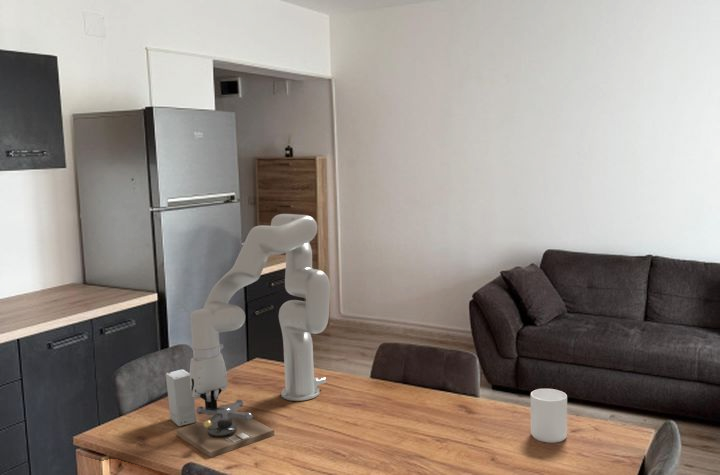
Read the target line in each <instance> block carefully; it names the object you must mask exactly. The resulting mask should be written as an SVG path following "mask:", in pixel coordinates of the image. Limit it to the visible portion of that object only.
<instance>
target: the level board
mask: <svg viewBox="0 0 720 475" xmlns="http://www.w3.org/2000/svg"><path fill="white" fill-rule="evenodd" d="M237 412H240V411H239V410H238V411H237ZM204 422H205V421H202V422H199V423H196V424H195V423H194V424H193V425H189V426H187V427H183V428H180V429H177V430H176V435H177V437H179V438H181V439H182V440H184V441H185V442H187V444H189V445H190V446H192V447H194V448H195V449H197V450H199V451H200V452H201V453H203V454H204V455H206V456H208V457H209V458H214V457H217V456H219V455H222V454H225V453H228V452H231V451H233V450H236V449H239V448H241V447H245V446H247V445H250V444H254V443H255V442H259V441H261V440H264V439H267V438H270V437H273V436H275V430H274V429H273V428H271V427H269V426H267V425H265V424H263V423H262V422H260V421H258V420H256V419H254V418H252V419H251V420H249V421H248V420H245V419H237V418H232V422H233V423H235V424H236V429H237V430H236V432H235V433H234V434H232V435H230V436H226V437H211V436H209V435H208V430H207V429H208V428H205V427H204ZM217 423H218V422H217Z"/></svg>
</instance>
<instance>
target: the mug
mask: <svg viewBox="0 0 720 475" xmlns="http://www.w3.org/2000/svg"><path fill="white" fill-rule="evenodd" d="M530 434H531V436H532V437H533V438H534V439H535V440H537V441H539V442H544V443H547V444H550V443H551V444H554V443H556V444H557V443H560V442H562V441H564V440H565V439H566V438H567V435H568V395H567V394H566V392H563V391H562V390H558V389H553V388H537V389H535V390H533V391H531V392H530Z"/></svg>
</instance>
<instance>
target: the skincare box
mask: <svg viewBox="0 0 720 475" xmlns="http://www.w3.org/2000/svg"><path fill="white" fill-rule="evenodd" d="M165 379H166V380H165V381H166V382H165V383H166V389H167V398H168V407H169V408H168V409H169V418H170V420H171V421H172V422H173V423H174V424H175V425H177V426H178V427H183V426H186V425H191V424H195V423H197V422H198V420H197V409H196V403H195V398H194V397H192V394H193V391H192V390H191V389H190V372H188V371H186V370H185V369H177V370H173V371H170V372H166V373H165Z"/></svg>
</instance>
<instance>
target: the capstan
mask: <svg viewBox="0 0 720 475" xmlns="http://www.w3.org/2000/svg"><path fill="white" fill-rule="evenodd" d="M243 405H244V400H243V399H240V398H239V399H237V400H236V401H235V402H233V403H232V404H230V405H220V406H217V409H213V408H205V406H201V405H200V406H198V407H197V408H196V414H198V415H207V416H211V417H210V418H209V419H206V420H205V421H203V422H204V427H205V428H208V429H207V430H208V435H209V436H211V437H226V436H230V435H232V434H234V433H235V432H236V430H237V429H236V424H235V423H233V422H232V418H237V419H245V420H248V421H249V420H251V419H253V414H252V413H251V412H244V411H239V412H237V411H236V410H237V409H240V408H241V407H243ZM217 422H218V423H217Z"/></svg>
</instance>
